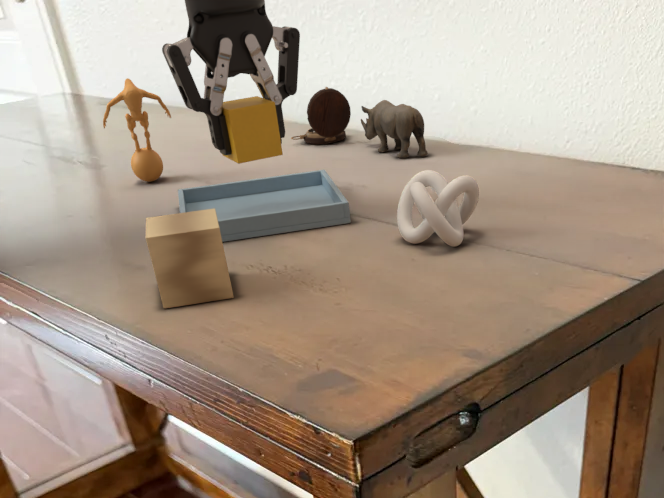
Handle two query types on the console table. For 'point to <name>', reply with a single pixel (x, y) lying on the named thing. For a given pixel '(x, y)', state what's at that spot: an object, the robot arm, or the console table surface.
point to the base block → (188, 258)
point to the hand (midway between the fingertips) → (250, 148)
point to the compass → (327, 117)
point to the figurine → (144, 159)
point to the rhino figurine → (395, 126)
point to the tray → (270, 204)
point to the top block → (252, 129)
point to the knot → (436, 207)
